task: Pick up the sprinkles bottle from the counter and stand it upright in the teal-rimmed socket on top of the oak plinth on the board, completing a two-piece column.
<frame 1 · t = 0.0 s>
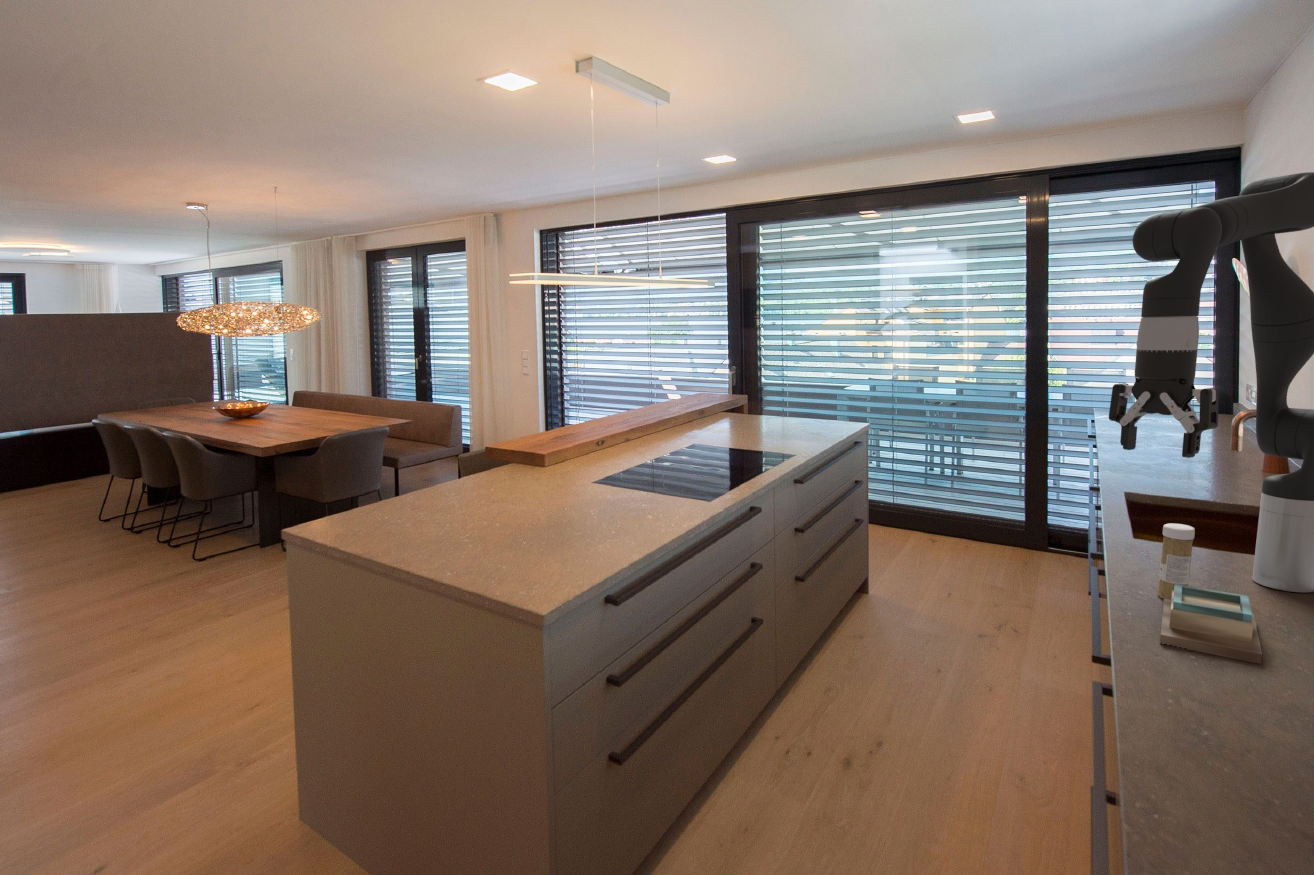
hand: (1157, 453, 109), 29 cm above the countertop, tool pointing down, fingers open, 8 cm apart
build board: (1207, 632, 113), on the countertop
sprinkles bottle: (1172, 599, 128), on the countertop
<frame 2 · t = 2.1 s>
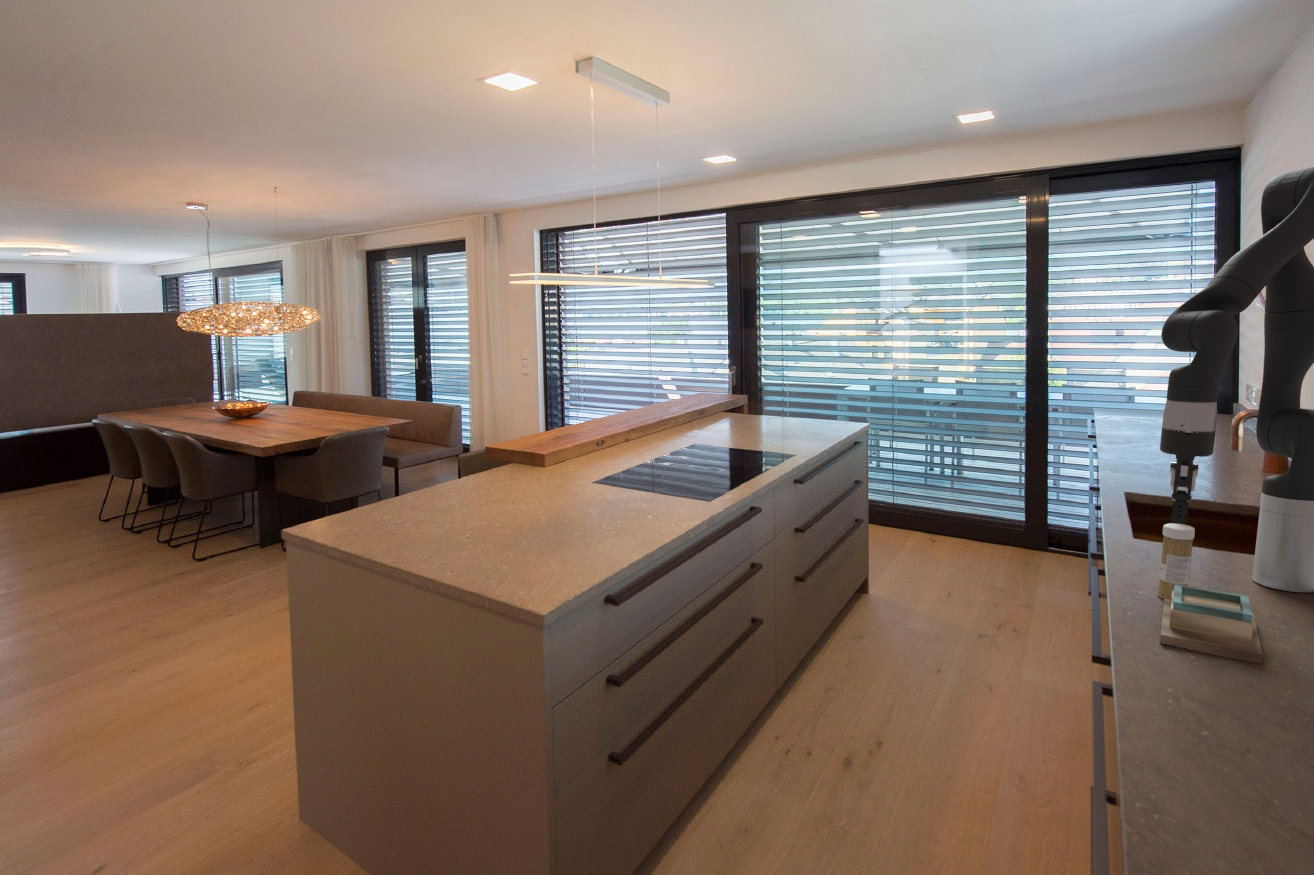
hand: (1178, 517, 125), 15 cm above the countertop, tool pointing down, fingers open, 8 cm apart
nothing on the countertop moved.
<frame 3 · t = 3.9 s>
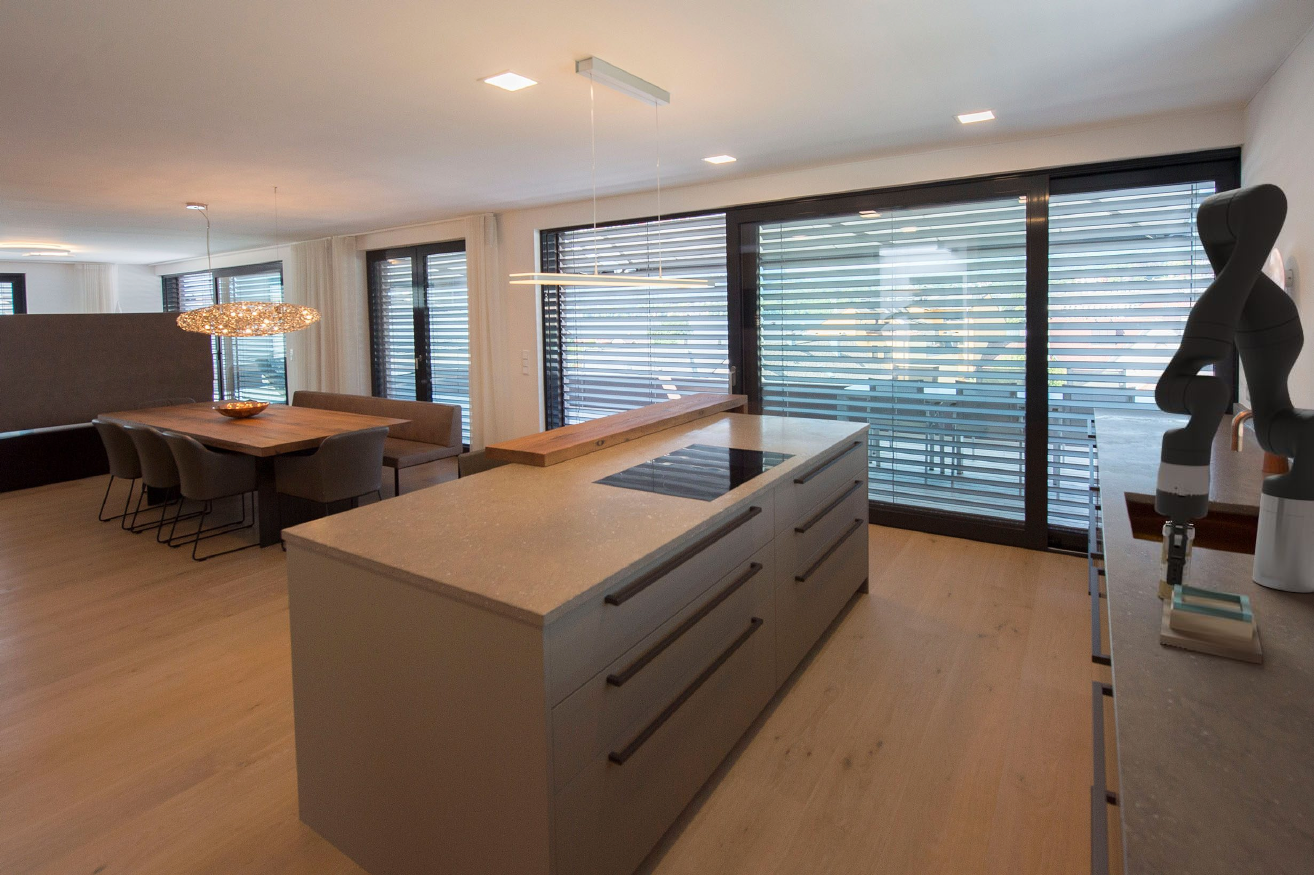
hand: (1174, 580, 127), 3 cm above the countertop, tool pointing down, fingers closed on sprinkles bottle, 4 cm apart
sprinkles bottle: (1172, 599, 128), on the countertop, touching gripper
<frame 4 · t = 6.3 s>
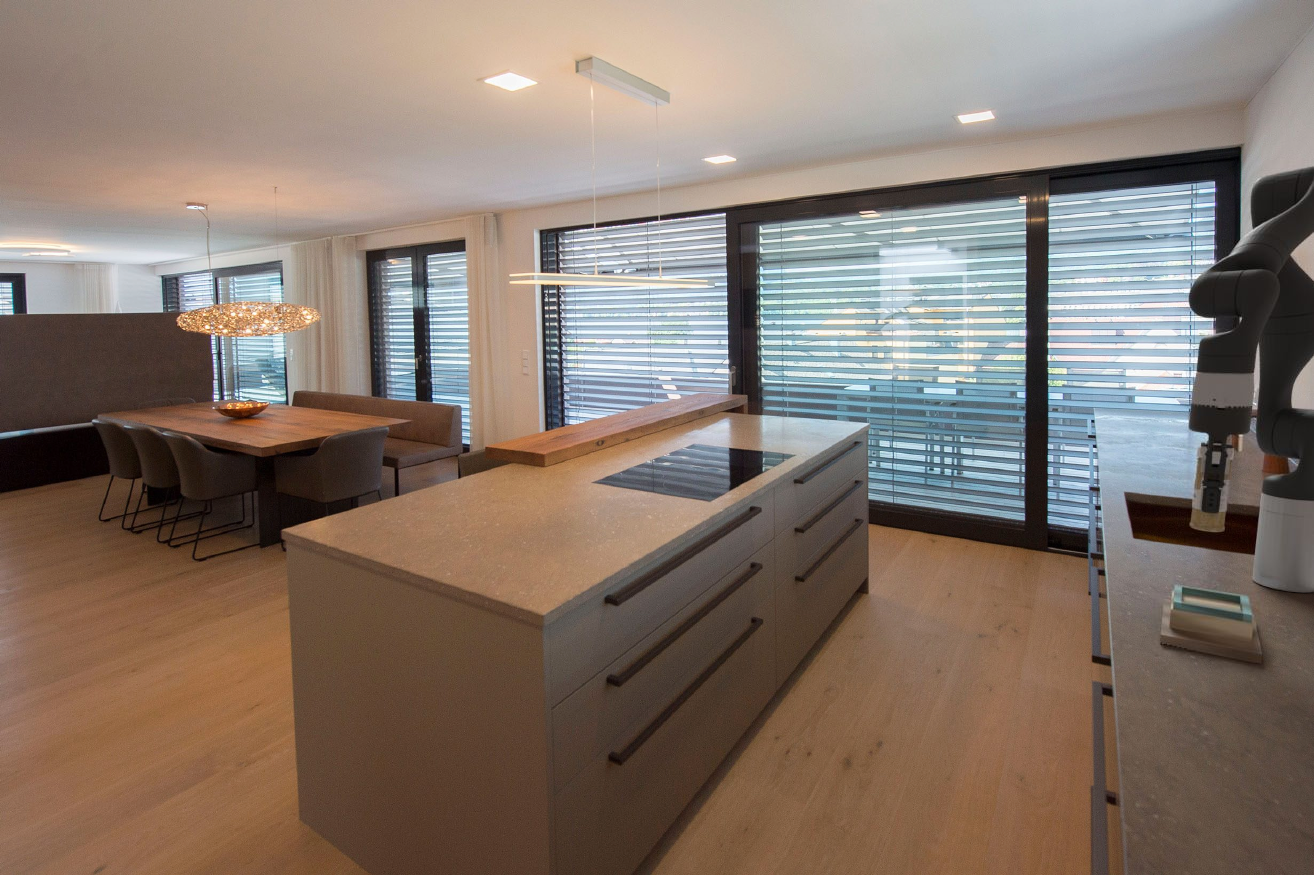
hand: (1209, 508, 112), 20 cm above the countertop, tool pointing down, fingers closed on sprinkles bottle, 4 cm apart
sprinkles bottle: (1206, 530, 113), point 16 cm above the countertop, touching gripper
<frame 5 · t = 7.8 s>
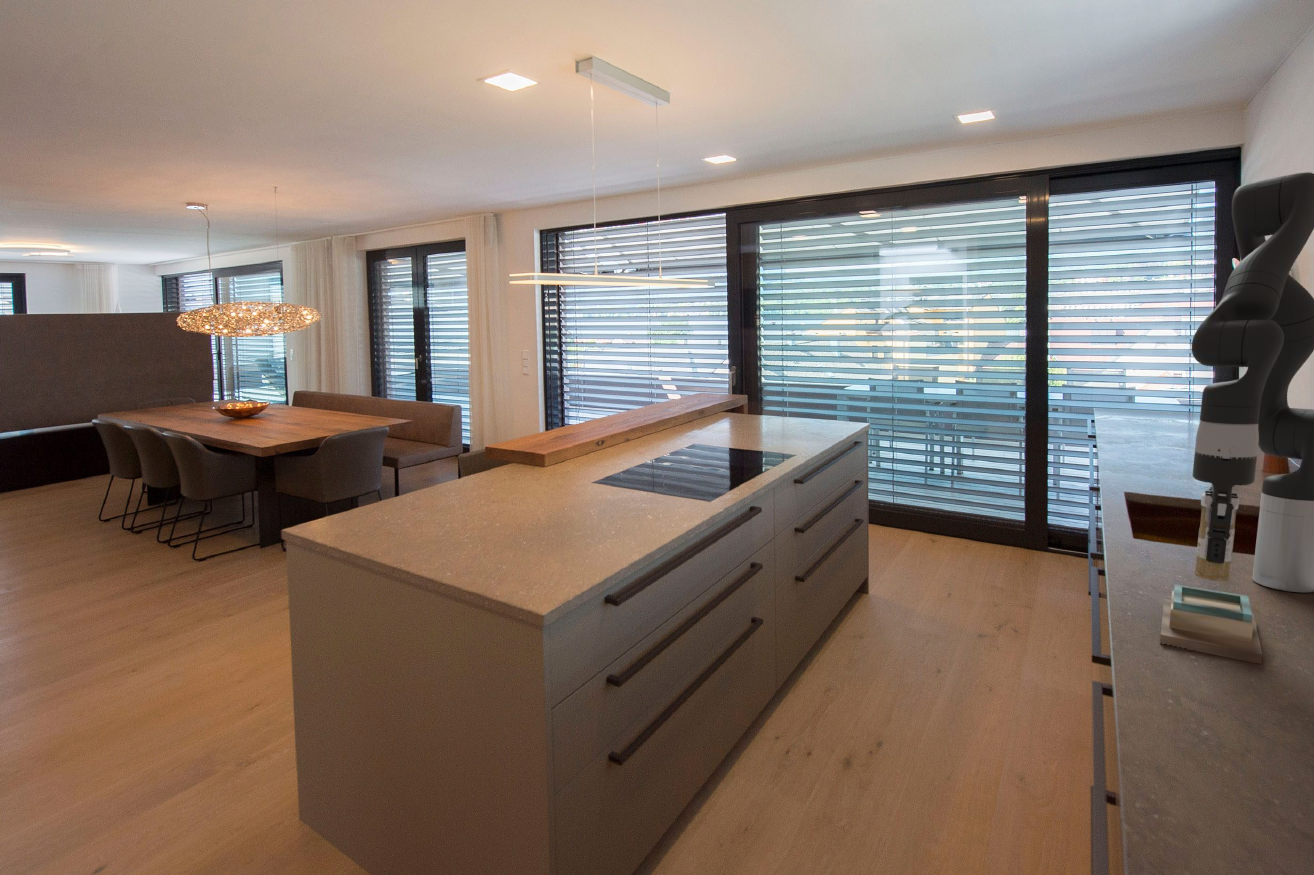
hand: (1214, 557, 111), 12 cm above the countertop, tool pointing down, fingers closed on sprinkles bottle, 4 cm apart
sprinkles bottle: (1211, 579, 112), point 9 cm above the countertop, touching gripper
when the fingers open (9 cm above the countertop, at t = 8.9 s): sprinkles bottle stays where it is, resting on build board.
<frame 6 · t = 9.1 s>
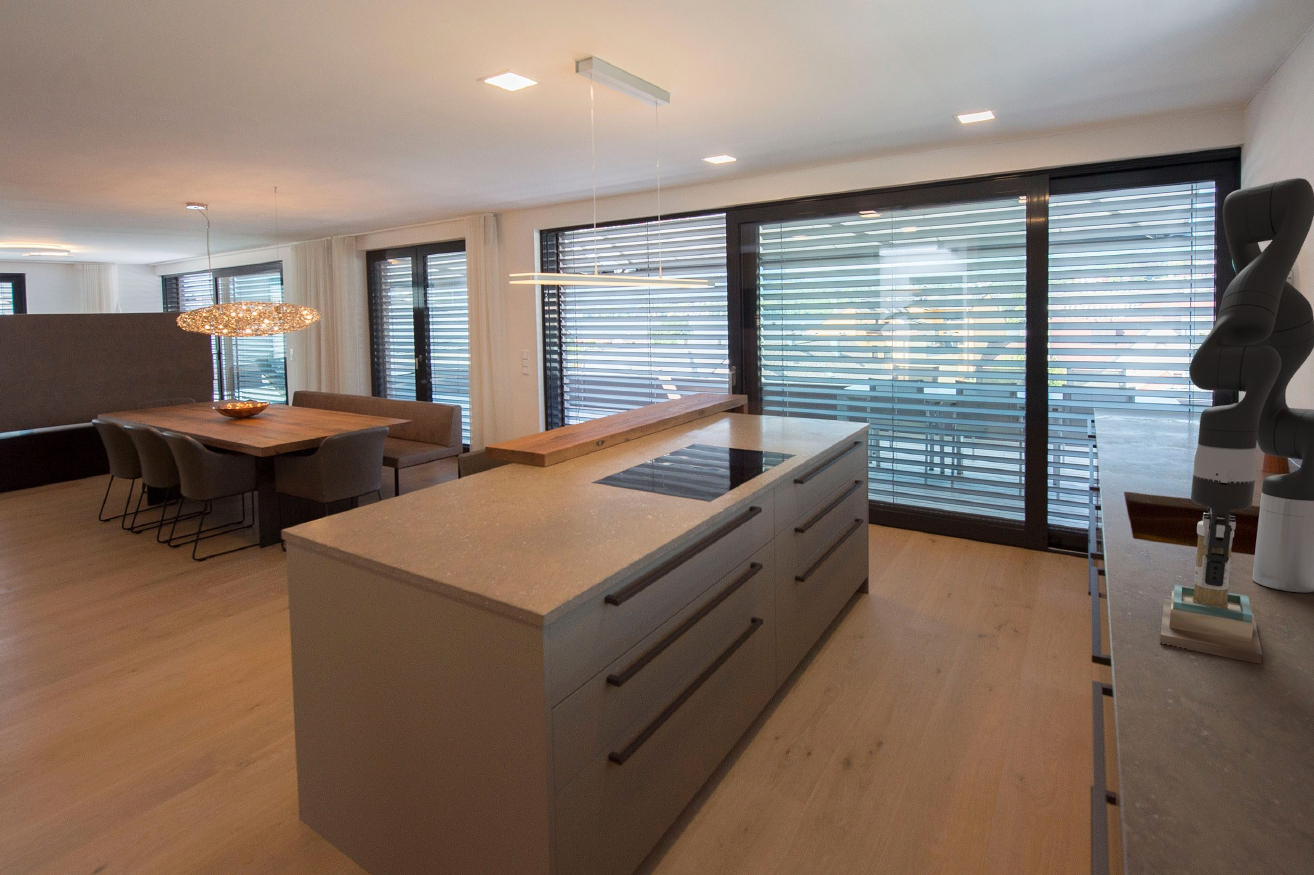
hand: (1213, 578, 112), 9 cm above the countertop, tool pointing down, fingers open, 6 cm apart
sprinkles bottle: (1209, 606, 112), point 4 cm above the countertop, touching build board
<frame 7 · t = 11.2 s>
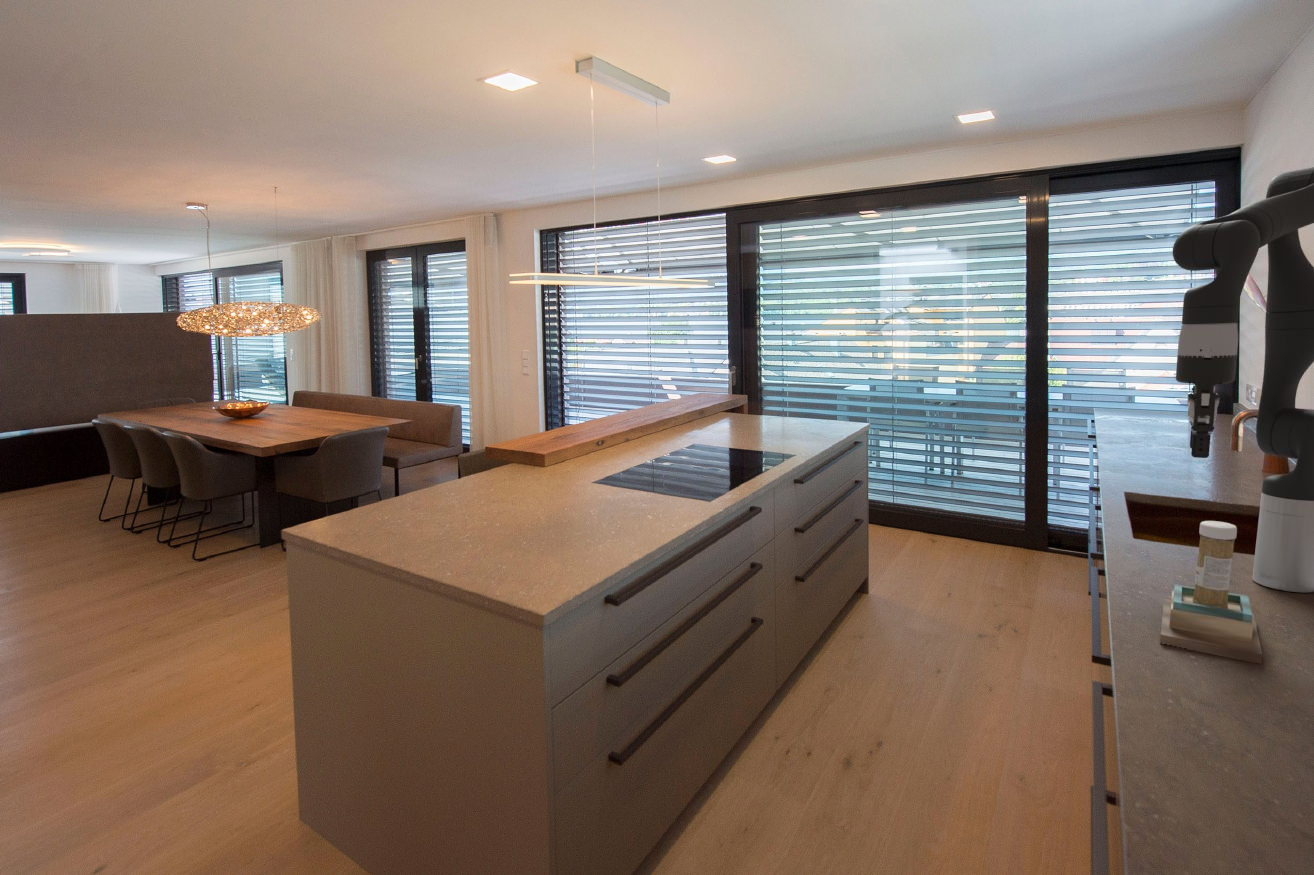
hand: (1198, 452, 115), 28 cm above the countertop, tool pointing down, fingers open, 8 cm apart
nothing on the countertop moved.
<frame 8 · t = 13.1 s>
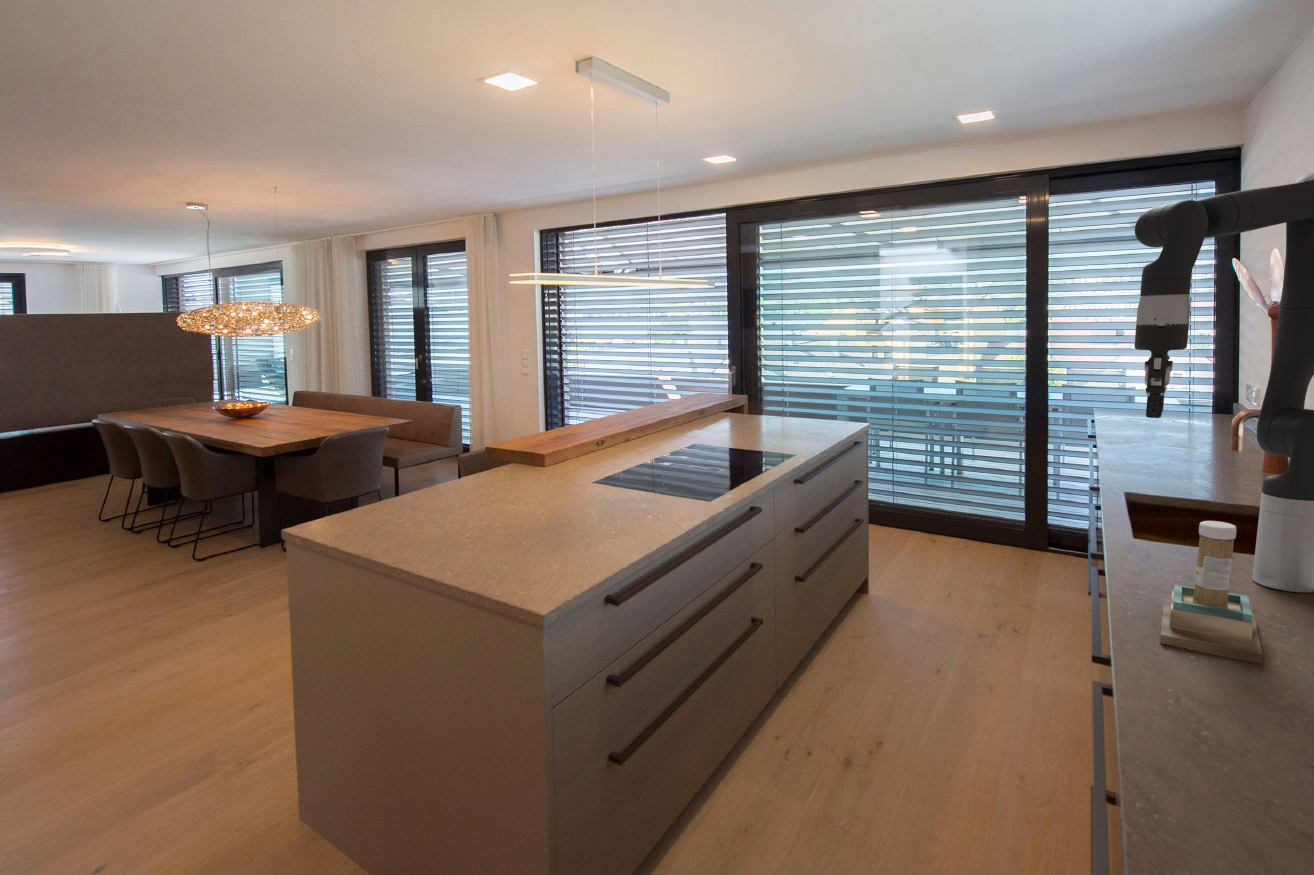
hand: (1154, 415, 125), 33 cm above the countertop, tool pointing down, fingers open, 8 cm apart
nothing on the countertop moved.
at the end: sprinkles bottle 0.1 cm off-centre on the build board, point 4.3 cm above the build board's base; sprinkles bottle tilted 0°; the gripper is holding nothing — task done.
